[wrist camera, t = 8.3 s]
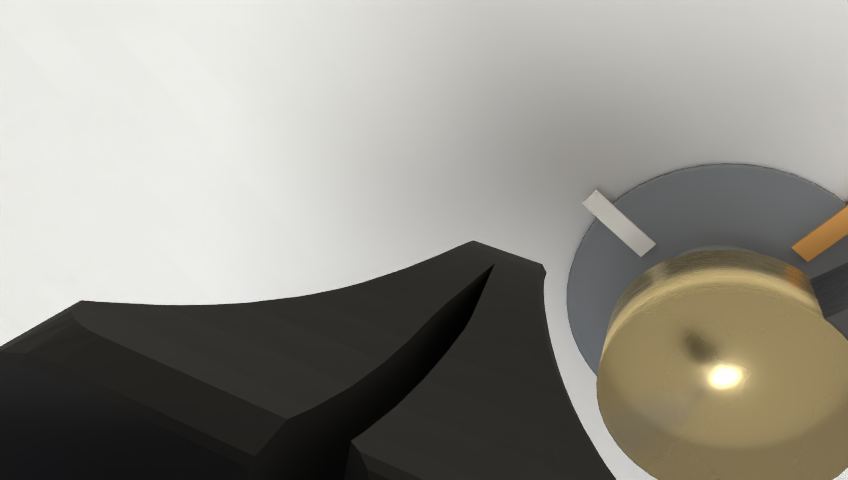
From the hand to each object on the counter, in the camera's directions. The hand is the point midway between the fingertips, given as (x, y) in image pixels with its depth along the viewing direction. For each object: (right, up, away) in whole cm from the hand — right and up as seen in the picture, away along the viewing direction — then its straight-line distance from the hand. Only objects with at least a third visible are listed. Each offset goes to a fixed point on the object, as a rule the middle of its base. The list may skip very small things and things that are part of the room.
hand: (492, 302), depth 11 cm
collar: (+9, 0, +5) cm, 10 cm away
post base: (+8, -1, +9) cm, 12 cm away
